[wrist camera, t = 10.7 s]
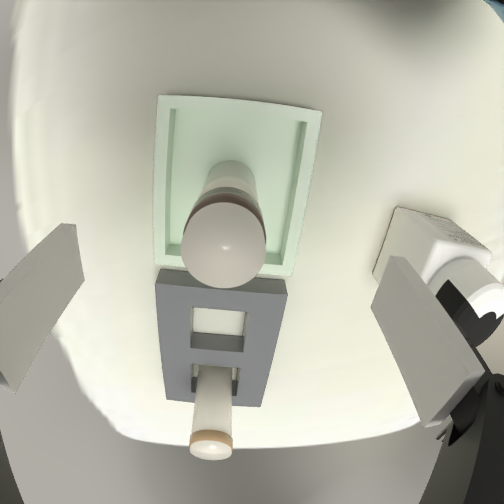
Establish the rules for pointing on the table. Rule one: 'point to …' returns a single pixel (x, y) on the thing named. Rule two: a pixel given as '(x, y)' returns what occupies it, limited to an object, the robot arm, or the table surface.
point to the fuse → (212, 414)
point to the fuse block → (213, 345)
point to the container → (447, 269)
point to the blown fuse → (225, 229)
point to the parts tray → (238, 149)
